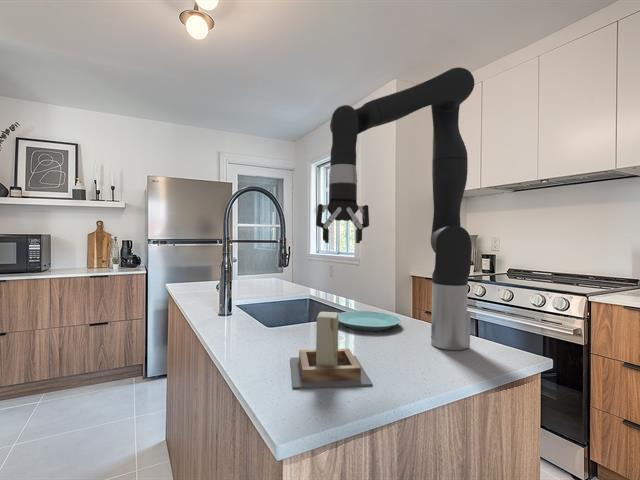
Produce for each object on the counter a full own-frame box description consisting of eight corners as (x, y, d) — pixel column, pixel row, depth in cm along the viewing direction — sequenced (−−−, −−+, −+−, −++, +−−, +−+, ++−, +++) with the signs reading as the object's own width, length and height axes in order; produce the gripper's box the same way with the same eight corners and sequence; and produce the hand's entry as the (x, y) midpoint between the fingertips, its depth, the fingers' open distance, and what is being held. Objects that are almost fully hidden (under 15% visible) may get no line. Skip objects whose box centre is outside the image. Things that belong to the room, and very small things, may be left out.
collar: (348, 358, 81) (349, 348, 81) (360, 380, 69) (360, 367, 69) (299, 360, 80) (299, 349, 80) (302, 382, 68) (302, 369, 68)
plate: (363, 314, 130) (363, 307, 130) (414, 326, 114) (414, 318, 114) (321, 324, 115) (321, 316, 115) (372, 339, 99) (372, 330, 99)
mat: (355, 357, 83) (355, 355, 83) (372, 385, 68) (372, 383, 68) (290, 359, 82) (290, 357, 82) (292, 389, 66) (292, 387, 66)
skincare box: (335, 376, 71) (336, 318, 71) (315, 374, 72) (316, 317, 72) (338, 364, 77) (338, 311, 77) (319, 363, 78) (320, 310, 78)
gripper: (365, 186, 96) (364, 243, 96) (315, 184, 94) (314, 242, 95) (372, 182, 89) (371, 243, 89) (318, 180, 87) (317, 243, 87)
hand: (342, 243), depth 92 cm, fingers open, 8 cm apart
